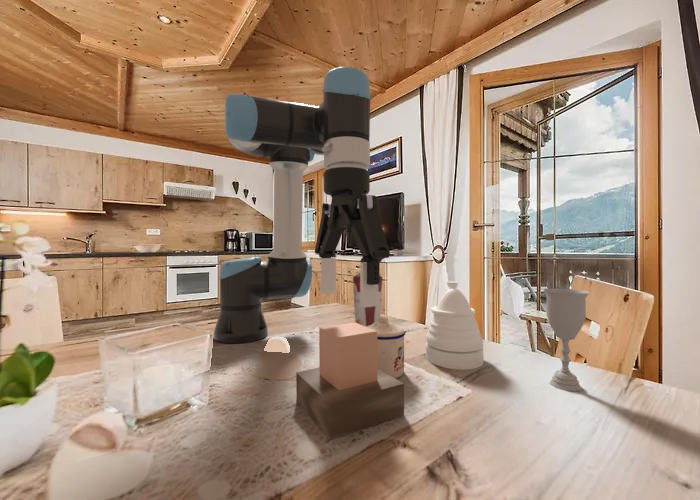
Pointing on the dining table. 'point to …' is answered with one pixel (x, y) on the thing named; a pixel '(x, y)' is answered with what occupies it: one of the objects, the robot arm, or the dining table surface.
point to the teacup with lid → (389, 347)
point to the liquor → (368, 313)
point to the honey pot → (454, 333)
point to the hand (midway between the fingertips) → (346, 299)
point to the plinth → (349, 402)
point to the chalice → (566, 329)
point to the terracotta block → (348, 355)
